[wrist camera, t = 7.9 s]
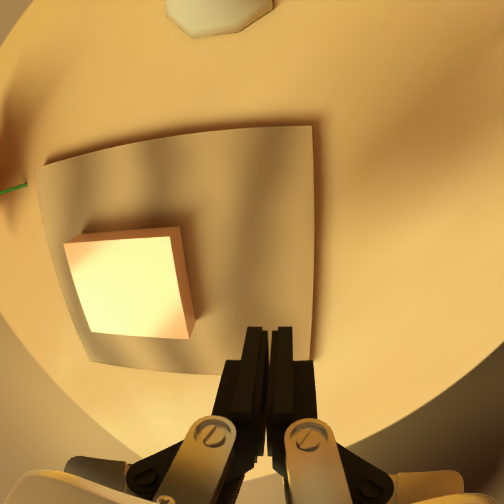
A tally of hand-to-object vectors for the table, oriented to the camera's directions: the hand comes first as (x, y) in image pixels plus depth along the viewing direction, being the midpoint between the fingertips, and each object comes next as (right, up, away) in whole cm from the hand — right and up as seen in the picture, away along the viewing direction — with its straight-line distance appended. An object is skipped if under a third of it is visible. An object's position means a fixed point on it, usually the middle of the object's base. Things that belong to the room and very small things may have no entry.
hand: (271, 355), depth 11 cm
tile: (-5, +2, +7) cm, 9 cm away
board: (-7, +3, +9) cm, 12 cm away
